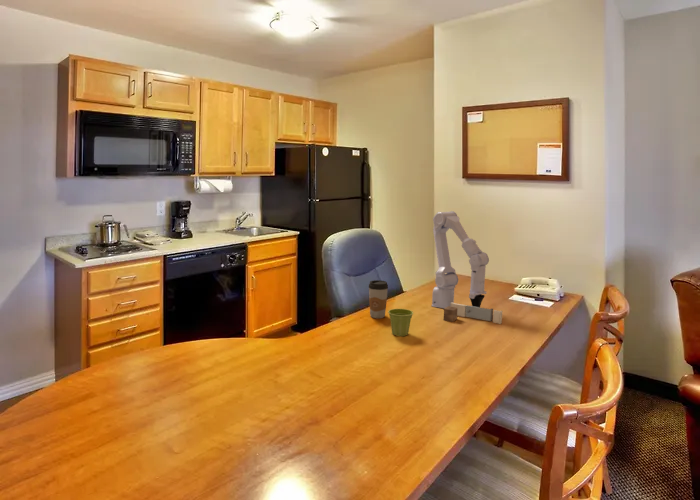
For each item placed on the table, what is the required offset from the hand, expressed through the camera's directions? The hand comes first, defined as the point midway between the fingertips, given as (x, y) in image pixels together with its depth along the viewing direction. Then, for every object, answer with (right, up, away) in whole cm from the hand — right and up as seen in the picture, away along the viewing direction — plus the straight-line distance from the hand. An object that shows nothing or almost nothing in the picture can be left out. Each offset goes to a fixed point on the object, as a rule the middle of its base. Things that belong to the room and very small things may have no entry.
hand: (475, 311), depth 192 cm
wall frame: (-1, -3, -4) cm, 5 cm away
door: (0, -2, -5) cm, 6 cm away
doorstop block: (-12, -3, -6) cm, 14 cm away
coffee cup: (-43, -2, -3) cm, 43 cm away
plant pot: (-36, -5, -24) cm, 44 cm away
